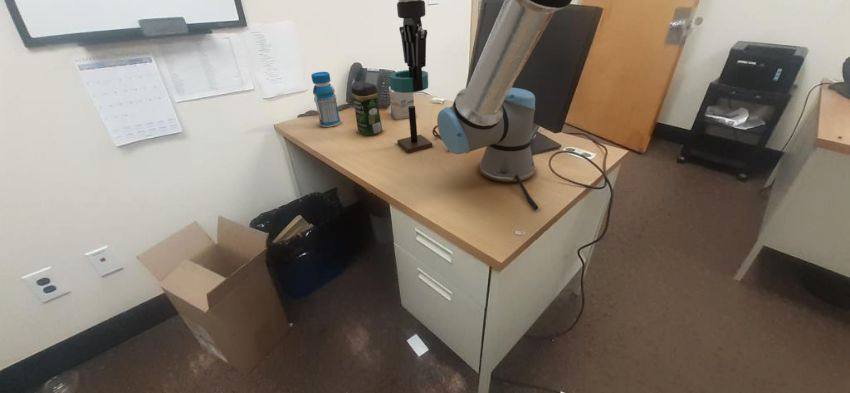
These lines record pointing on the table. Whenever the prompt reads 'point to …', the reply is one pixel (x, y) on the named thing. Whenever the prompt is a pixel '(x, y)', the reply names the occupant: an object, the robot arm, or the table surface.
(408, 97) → the ink box
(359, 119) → the coffee jar
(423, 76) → the ring
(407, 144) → the peg stand
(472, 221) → the table surface
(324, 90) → the beverage bottle
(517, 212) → the table surface
